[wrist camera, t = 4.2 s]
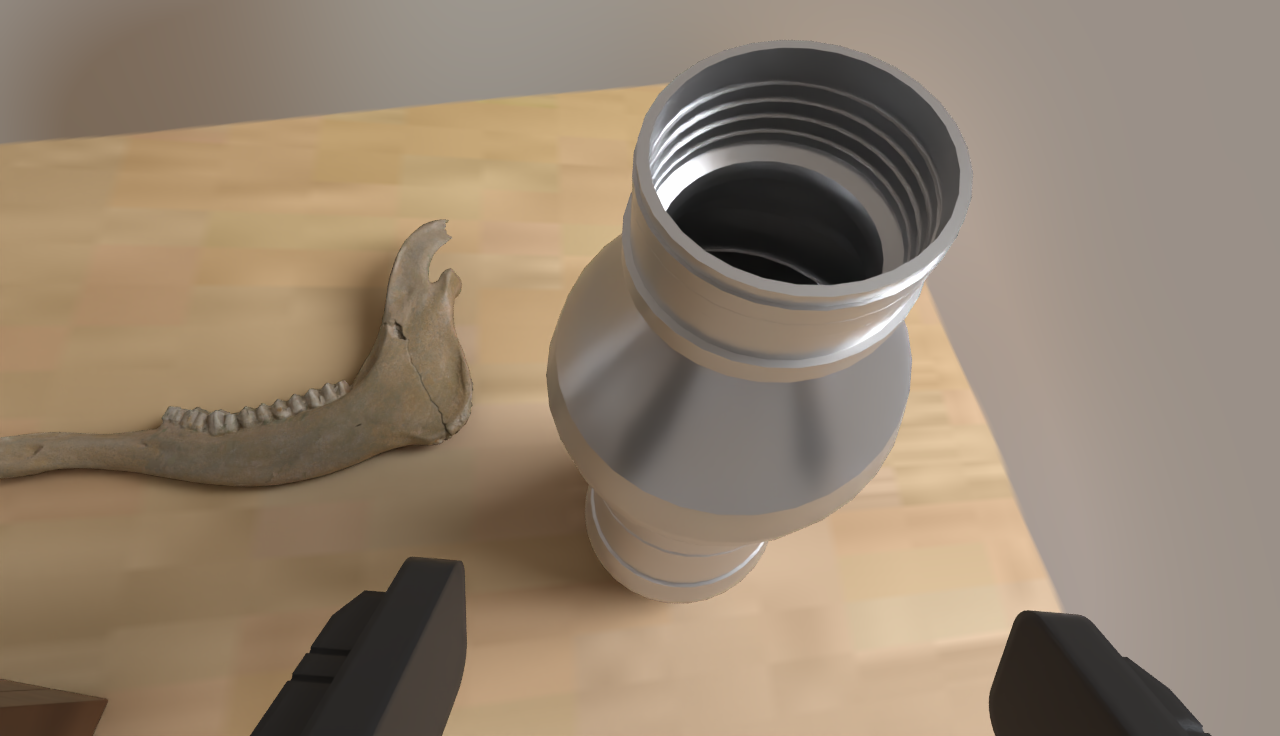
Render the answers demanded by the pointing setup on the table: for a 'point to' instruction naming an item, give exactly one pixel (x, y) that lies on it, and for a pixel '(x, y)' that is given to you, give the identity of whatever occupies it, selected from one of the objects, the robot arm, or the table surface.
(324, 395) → the jawbone
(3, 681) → the bottle holder
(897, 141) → the silver metal bottle
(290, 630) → the table surface
